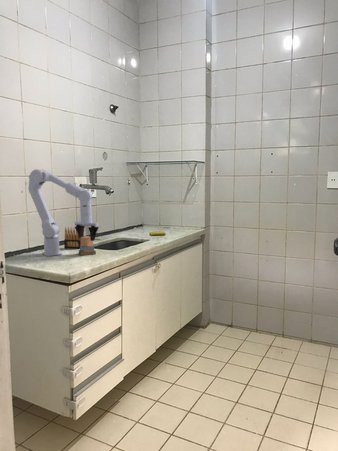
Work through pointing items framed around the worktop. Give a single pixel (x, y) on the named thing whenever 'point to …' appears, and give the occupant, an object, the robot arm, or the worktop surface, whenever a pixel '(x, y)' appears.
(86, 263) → the worktop surface
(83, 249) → the grey slab
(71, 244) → the ammunition clip
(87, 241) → the terracotta cube
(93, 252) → the walnut slab
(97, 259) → the worktop surface
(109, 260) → the worktop surface
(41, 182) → the robot arm
